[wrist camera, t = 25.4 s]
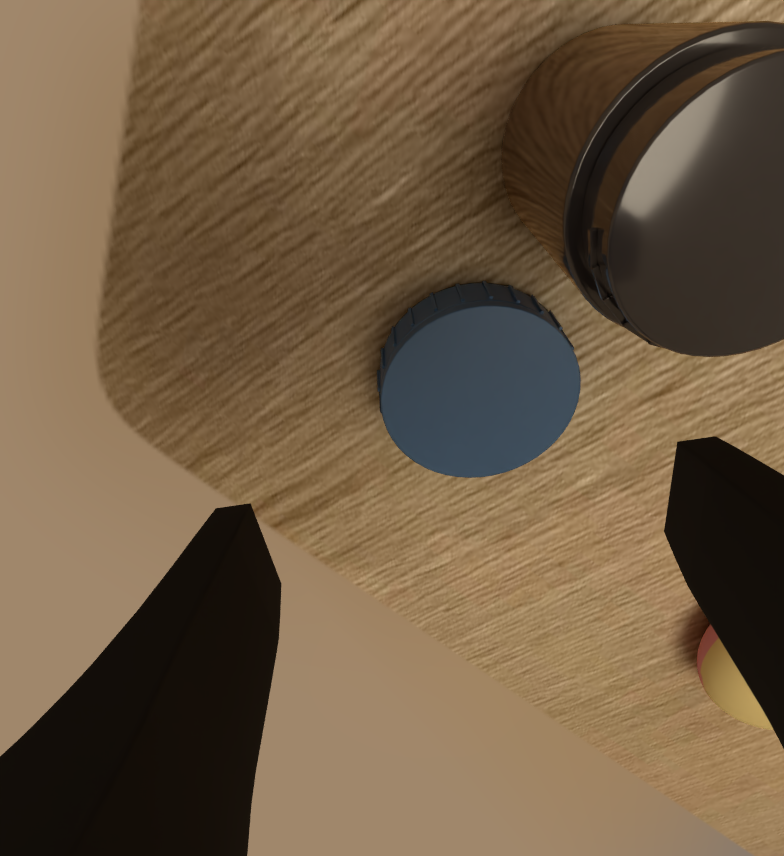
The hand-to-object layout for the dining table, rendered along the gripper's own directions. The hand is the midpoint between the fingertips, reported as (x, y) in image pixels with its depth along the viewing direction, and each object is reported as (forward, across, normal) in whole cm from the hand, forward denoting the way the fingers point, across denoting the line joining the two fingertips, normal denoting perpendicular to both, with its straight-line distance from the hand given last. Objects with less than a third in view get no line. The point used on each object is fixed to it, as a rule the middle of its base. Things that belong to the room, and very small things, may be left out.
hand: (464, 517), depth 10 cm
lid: (+8, -1, +2) cm, 8 cm away
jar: (+9, -5, -4) cm, 11 cm away
